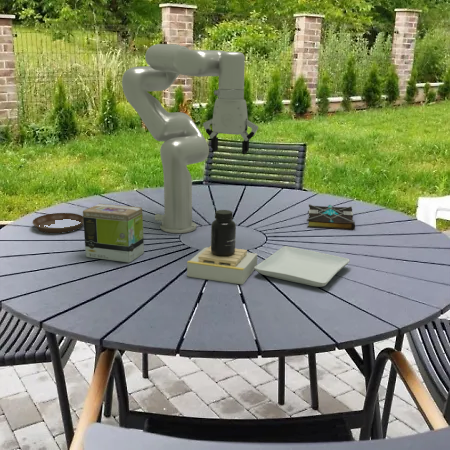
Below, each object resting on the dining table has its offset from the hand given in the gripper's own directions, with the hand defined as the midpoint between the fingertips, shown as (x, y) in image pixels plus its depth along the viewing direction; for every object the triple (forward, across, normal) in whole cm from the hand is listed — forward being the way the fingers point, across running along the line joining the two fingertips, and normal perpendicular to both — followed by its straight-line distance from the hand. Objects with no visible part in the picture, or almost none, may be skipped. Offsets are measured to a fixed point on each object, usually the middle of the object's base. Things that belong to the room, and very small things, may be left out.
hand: (229, 152), depth 176 cm
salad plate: (+30, +28, -15) cm, 44 cm away
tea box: (+31, -28, -22) cm, 47 cm away
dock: (+30, +7, -23) cm, 38 cm away
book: (+31, +26, +40) cm, 57 cm away
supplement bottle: (+24, +7, -22) cm, 34 cm away
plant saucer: (+31, -61, -5) cm, 68 cm away
